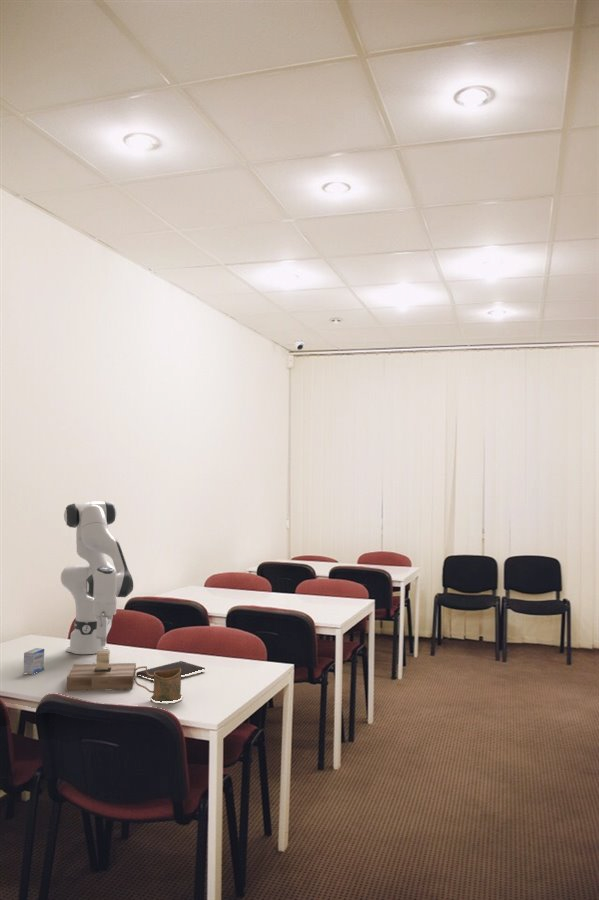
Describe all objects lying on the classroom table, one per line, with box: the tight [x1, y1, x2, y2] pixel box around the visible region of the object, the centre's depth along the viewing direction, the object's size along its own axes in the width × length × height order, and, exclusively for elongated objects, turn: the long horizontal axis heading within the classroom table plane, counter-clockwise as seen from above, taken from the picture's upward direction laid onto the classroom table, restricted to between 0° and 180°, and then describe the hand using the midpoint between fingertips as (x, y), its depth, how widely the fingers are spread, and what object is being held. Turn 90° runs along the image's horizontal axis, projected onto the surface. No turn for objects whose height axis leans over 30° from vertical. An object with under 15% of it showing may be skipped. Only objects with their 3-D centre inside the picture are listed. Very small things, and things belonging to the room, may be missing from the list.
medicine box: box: [22, 647, 45, 675], centre depth 281 cm, size 8×4×9 cm, turn 168°
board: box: [65, 662, 137, 692], centre depth 269 cm, size 18×24×5 cm
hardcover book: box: [135, 660, 206, 679], centre depth 283 cm, size 16×23×2 cm
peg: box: [95, 649, 111, 672], centre depth 269 cm, size 4×4×12 cm
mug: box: [134, 665, 183, 702], centre depth 251 cm, size 12×18×12 cm, turn 103°
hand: (103, 645), depth 269 cm, fingers closed
